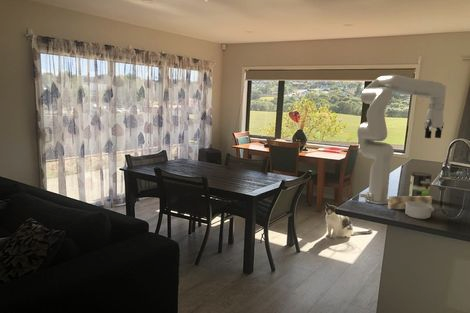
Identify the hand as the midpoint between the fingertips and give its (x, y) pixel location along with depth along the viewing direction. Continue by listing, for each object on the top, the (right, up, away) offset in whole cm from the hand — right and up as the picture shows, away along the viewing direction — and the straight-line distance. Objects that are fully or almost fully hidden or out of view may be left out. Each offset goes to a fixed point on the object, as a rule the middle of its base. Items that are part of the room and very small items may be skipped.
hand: (432, 138), depth 207 cm
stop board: (-24, -36, -22) cm, 49 cm away
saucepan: (-22, -39, -37) cm, 58 cm away
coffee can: (-9, -34, -2) cm, 35 cm away
